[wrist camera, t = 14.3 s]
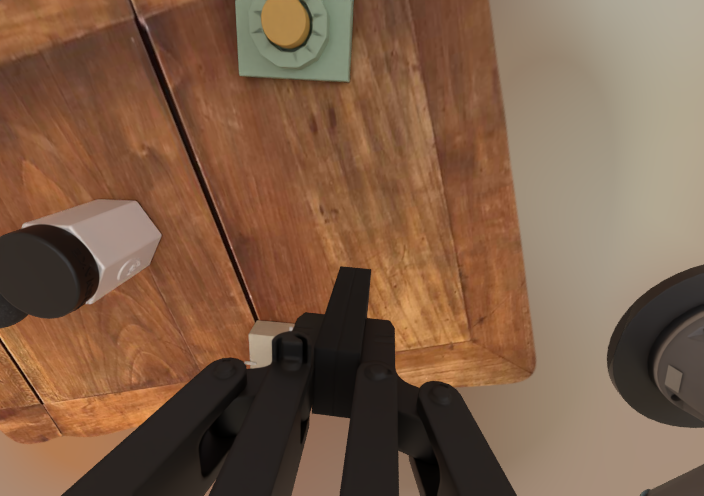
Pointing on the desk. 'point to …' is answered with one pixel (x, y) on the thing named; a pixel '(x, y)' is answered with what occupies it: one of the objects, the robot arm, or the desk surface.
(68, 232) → the jar
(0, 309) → the light bulb
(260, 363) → the panel
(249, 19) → the button block
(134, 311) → the desk surface
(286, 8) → the button
